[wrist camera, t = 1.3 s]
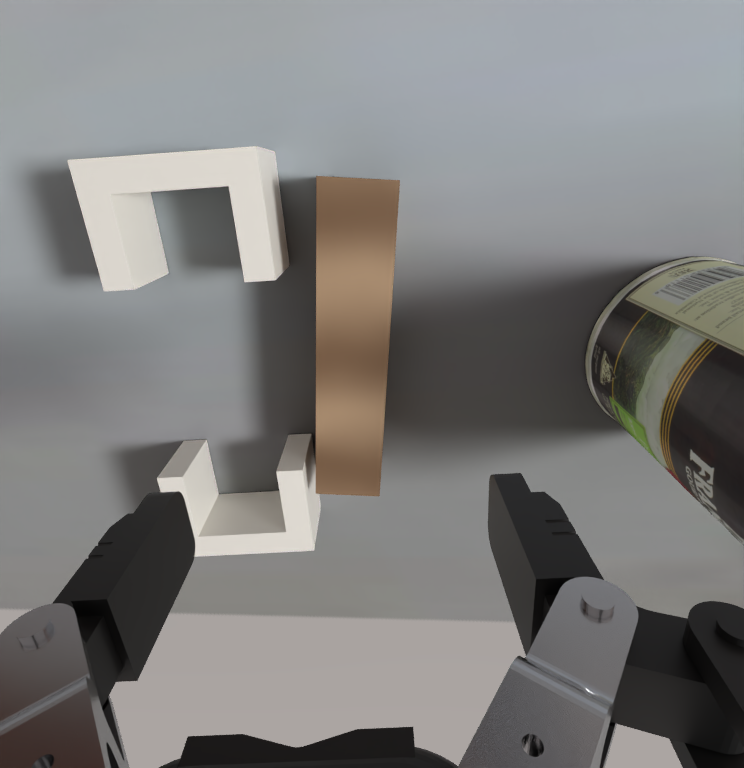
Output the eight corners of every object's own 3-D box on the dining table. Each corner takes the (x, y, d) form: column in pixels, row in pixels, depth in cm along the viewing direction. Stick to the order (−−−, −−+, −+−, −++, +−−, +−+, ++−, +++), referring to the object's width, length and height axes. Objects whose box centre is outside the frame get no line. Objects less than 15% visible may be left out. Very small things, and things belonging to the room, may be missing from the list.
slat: (325, 176, 24) (316, 176, 20) (395, 180, 24) (399, 180, 20) (322, 455, 30) (315, 493, 27) (378, 457, 30) (379, 496, 27)
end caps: (115, 163, 23) (67, 160, 20) (275, 151, 23) (256, 146, 20) (201, 513, 32) (179, 557, 28) (320, 506, 31) (313, 550, 28)
